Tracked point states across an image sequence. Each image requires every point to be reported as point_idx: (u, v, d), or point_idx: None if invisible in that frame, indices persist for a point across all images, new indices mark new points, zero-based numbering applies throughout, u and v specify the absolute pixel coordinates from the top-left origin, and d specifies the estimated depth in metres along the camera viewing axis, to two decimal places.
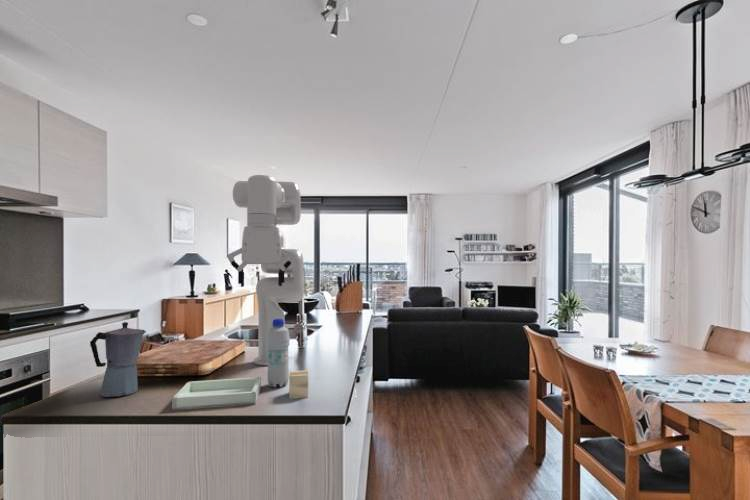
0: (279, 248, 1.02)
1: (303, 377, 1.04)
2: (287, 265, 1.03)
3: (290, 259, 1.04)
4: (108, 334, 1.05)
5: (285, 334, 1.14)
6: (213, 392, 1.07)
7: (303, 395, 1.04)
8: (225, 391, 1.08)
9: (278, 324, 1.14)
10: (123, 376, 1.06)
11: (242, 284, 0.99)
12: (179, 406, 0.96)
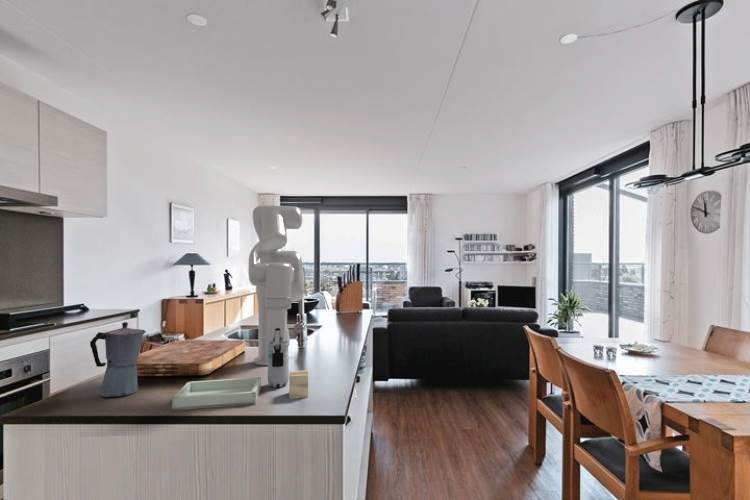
0: None
1: (303, 377, 1.04)
2: None
3: None
4: (108, 334, 1.05)
5: None
6: (213, 392, 1.07)
7: (303, 395, 1.04)
8: (225, 391, 1.08)
9: None
10: (123, 376, 1.06)
11: None
12: (179, 406, 0.96)
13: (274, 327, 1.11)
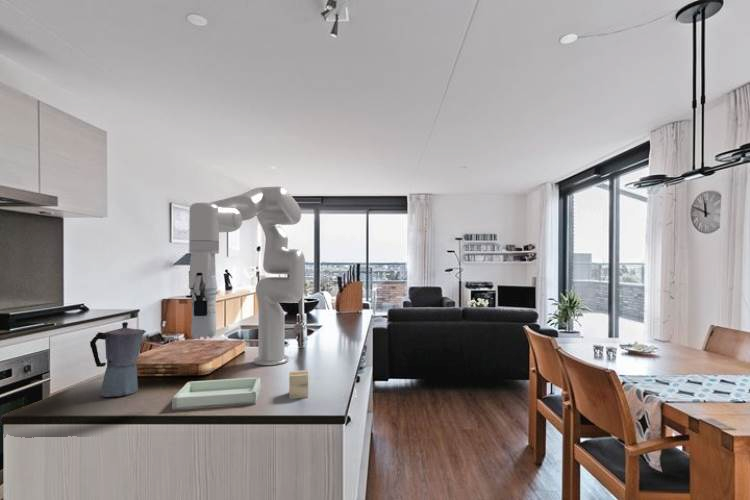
0: None
1: (303, 377, 1.04)
2: None
3: None
4: (108, 334, 1.05)
5: None
6: (213, 392, 1.07)
7: (303, 395, 1.04)
8: (225, 391, 1.08)
9: None
10: (123, 376, 1.06)
11: None
12: (179, 406, 0.96)
13: (195, 271, 1.00)
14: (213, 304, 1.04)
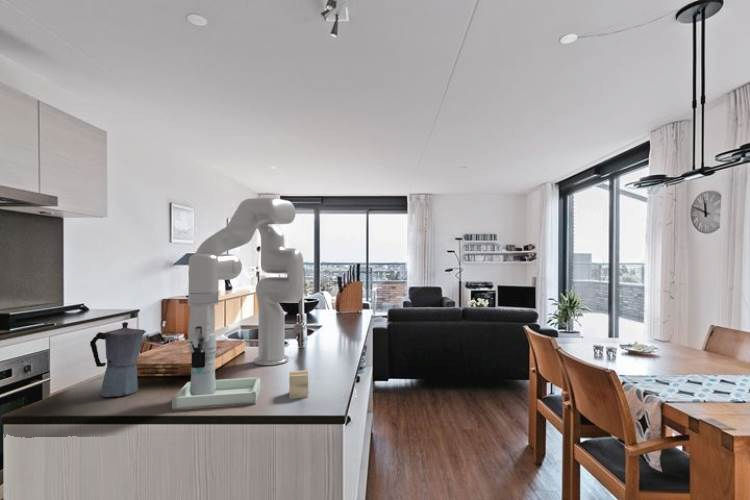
0: None
1: (304, 377, 1.04)
2: None
3: None
4: (108, 334, 1.05)
5: (210, 340, 1.02)
6: None
7: (303, 395, 1.04)
8: (225, 391, 1.08)
9: None
10: (123, 376, 1.06)
11: None
12: (179, 406, 0.96)
13: (195, 325, 0.99)
14: (212, 363, 1.03)
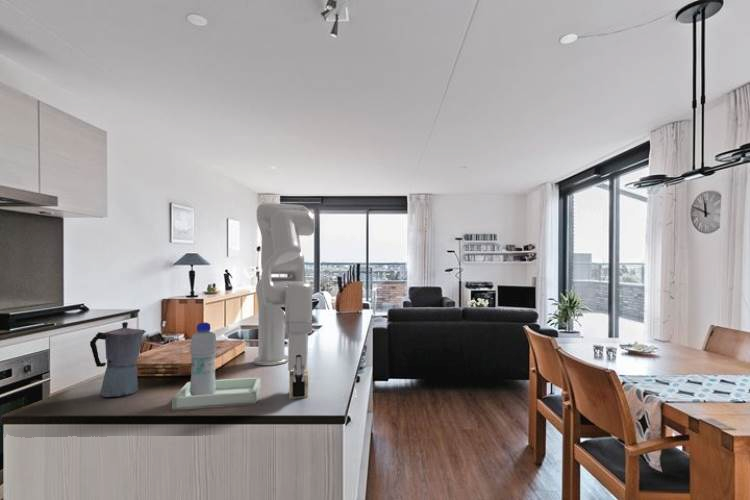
0: None
1: (304, 377, 1.04)
2: (301, 368, 1.11)
3: None
4: (108, 334, 1.05)
5: (210, 340, 1.02)
6: None
7: None
8: (225, 391, 1.08)
9: (202, 329, 1.03)
10: (123, 376, 1.06)
11: (304, 393, 1.04)
12: (179, 406, 0.96)
13: (295, 354, 1.02)
14: (212, 363, 1.03)
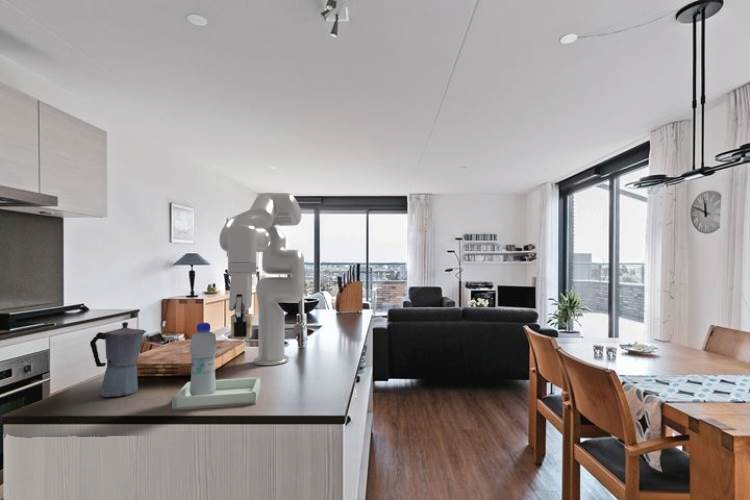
0: None
1: (246, 317, 1.04)
2: None
3: None
4: (108, 334, 1.05)
5: (210, 340, 1.02)
6: None
7: None
8: (225, 391, 1.08)
9: (202, 329, 1.03)
10: (123, 376, 1.06)
11: (246, 334, 1.04)
12: (179, 406, 0.96)
13: (235, 293, 1.01)
14: (212, 363, 1.03)
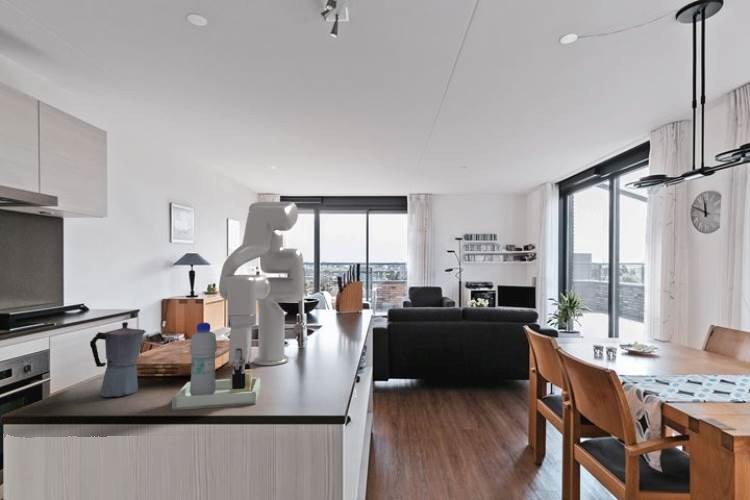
0: None
1: (245, 376, 1.03)
2: None
3: None
4: (108, 334, 1.05)
5: (210, 340, 1.02)
6: None
7: None
8: (225, 391, 1.08)
9: (202, 329, 1.03)
10: (123, 376, 1.06)
11: None
12: (179, 406, 0.96)
13: (235, 347, 1.01)
14: (212, 363, 1.03)
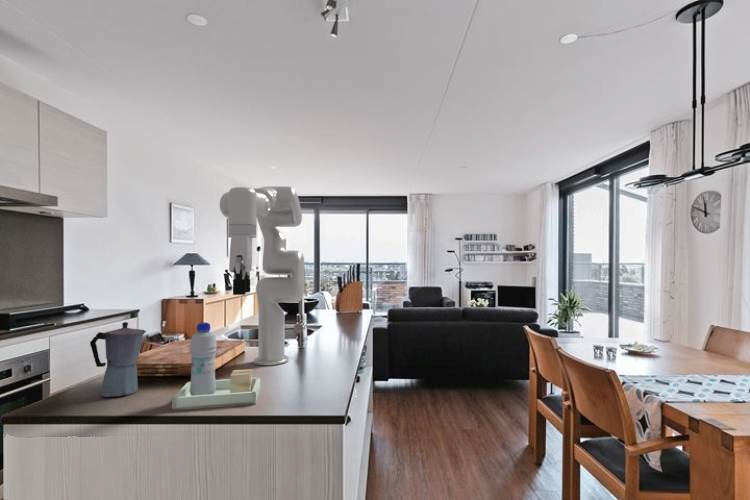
0: None
1: (245, 376, 1.03)
2: None
3: None
4: (108, 334, 1.05)
5: (210, 340, 1.02)
6: None
7: None
8: (225, 391, 1.08)
9: (202, 329, 1.03)
10: (123, 376, 1.06)
11: (245, 292, 1.02)
12: (179, 406, 0.96)
13: (236, 254, 1.02)
14: (212, 363, 1.03)
